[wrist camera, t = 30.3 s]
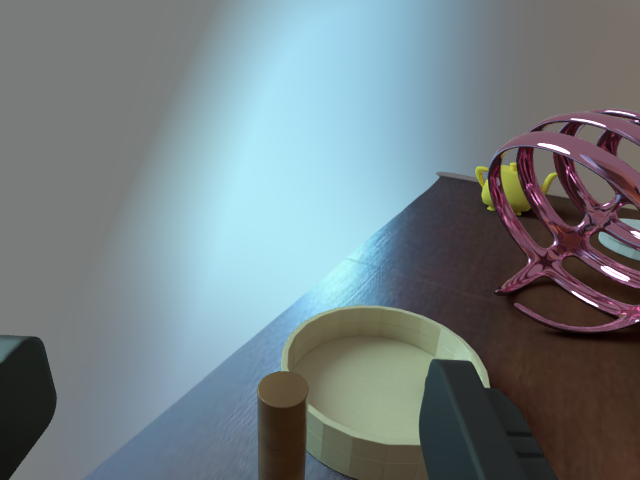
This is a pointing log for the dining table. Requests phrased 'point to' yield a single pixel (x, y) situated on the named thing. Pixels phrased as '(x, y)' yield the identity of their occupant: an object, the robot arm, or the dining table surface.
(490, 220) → the dining table surface
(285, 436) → the sponge brush
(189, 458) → the dining table surface
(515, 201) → the teapot
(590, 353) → the dining table surface
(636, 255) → the lid
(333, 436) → the pan
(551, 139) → the pink metal ribbed cage
